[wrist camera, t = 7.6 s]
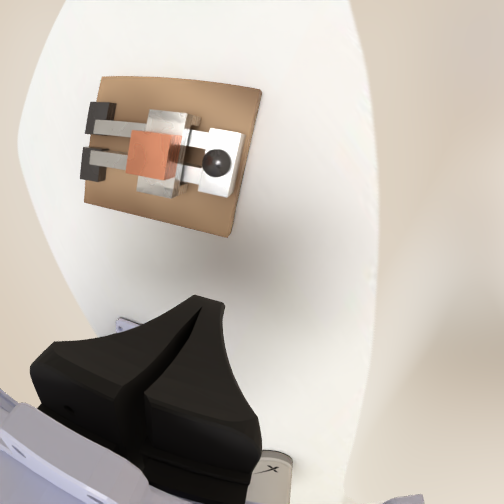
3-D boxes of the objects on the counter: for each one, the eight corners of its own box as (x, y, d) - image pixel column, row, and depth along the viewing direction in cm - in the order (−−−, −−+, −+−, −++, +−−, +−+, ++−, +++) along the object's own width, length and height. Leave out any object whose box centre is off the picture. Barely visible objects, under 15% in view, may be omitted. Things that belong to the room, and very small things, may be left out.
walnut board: (230, 232, 21) (227, 237, 20) (92, 199, 21) (84, 202, 20) (262, 92, 17) (260, 89, 16) (110, 78, 18) (101, 76, 17)
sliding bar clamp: (230, 207, 19) (221, 216, 17) (87, 176, 20) (66, 182, 17) (249, 119, 17) (242, 115, 15) (98, 102, 17) (76, 100, 15)
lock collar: (186, 191, 19) (160, 204, 15) (154, 185, 19) (122, 195, 15) (200, 117, 17) (176, 110, 13) (167, 112, 17) (136, 106, 13)
